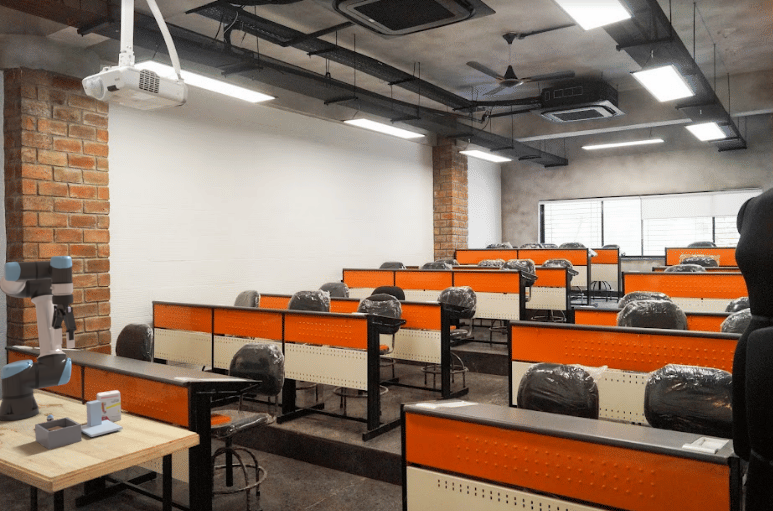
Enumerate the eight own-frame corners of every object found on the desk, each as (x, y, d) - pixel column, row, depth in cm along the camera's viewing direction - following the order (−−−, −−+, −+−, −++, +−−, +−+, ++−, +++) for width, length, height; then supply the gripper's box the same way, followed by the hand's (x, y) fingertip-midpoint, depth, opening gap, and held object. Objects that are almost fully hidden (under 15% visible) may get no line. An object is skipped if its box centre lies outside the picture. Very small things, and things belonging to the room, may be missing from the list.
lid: (76, 433, 224) (75, 404, 223) (107, 425, 232) (106, 397, 232) (91, 441, 214) (90, 411, 213) (122, 433, 222) (121, 404, 222)
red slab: (63, 430, 228) (63, 414, 228) (44, 434, 223) (43, 418, 223) (57, 426, 233) (56, 410, 233) (38, 430, 228) (37, 414, 228)
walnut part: (47, 439, 214) (46, 429, 214) (57, 436, 217) (57, 426, 217) (52, 441, 212) (52, 430, 212) (63, 438, 215) (63, 427, 215)
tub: (35, 443, 213) (34, 424, 213) (67, 435, 221) (66, 417, 221) (48, 451, 204) (48, 432, 203) (81, 443, 212) (80, 424, 212)
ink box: (99, 424, 234) (98, 395, 233) (96, 421, 238) (95, 393, 237) (121, 420, 239) (120, 392, 238) (119, 417, 243) (118, 389, 242)
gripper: (41, 293, 236) (43, 344, 236) (63, 296, 219) (65, 351, 220) (61, 292, 241) (63, 341, 242) (84, 294, 225) (86, 348, 225)
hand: (64, 346), depth 231 cm, fingers open, 13 cm apart
